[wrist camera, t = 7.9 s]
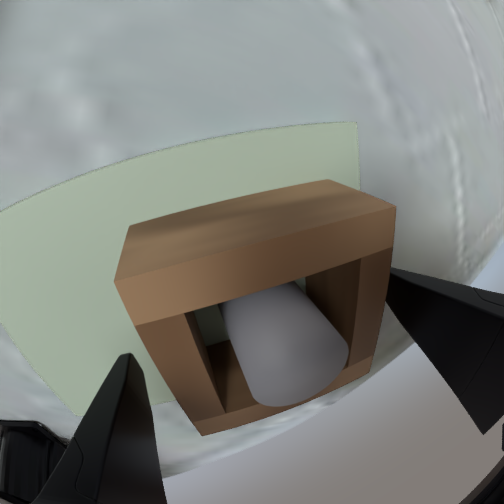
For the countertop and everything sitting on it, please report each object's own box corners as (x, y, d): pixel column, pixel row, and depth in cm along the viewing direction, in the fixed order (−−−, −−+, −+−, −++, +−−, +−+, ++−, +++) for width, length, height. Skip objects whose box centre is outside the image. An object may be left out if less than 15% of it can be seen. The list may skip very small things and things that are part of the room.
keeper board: (77, 405, 11) (73, 485, 7) (-32, 229, 6) (-105, 297, 2) (343, 330, 15) (399, 395, 10) (344, 121, 10) (457, 135, 5)
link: (187, 370, 11) (201, 435, 8) (129, 225, 8) (113, 281, 5) (328, 324, 13) (369, 372, 10) (328, 178, 10) (396, 206, 7)
